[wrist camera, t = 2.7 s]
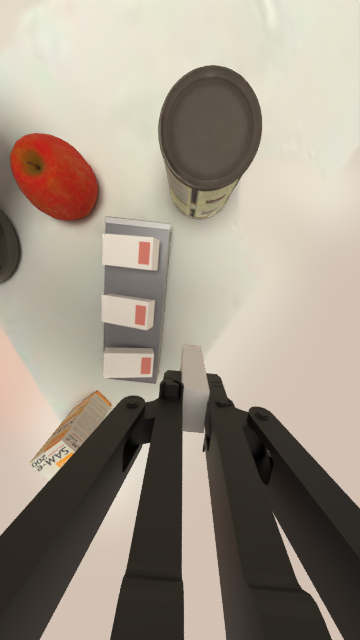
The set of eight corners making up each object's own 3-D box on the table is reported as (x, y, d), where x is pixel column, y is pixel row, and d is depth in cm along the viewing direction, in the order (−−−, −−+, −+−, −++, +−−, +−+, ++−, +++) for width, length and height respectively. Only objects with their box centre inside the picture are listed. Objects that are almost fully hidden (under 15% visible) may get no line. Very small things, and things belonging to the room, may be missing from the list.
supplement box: (96, 389, 44) (61, 438, 31) (112, 404, 45) (83, 458, 32) (70, 409, 45) (26, 465, 33) (86, 424, 46) (48, 483, 33)
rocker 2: (110, 318, 35) (100, 321, 33) (110, 293, 34) (101, 294, 32) (152, 326, 34) (146, 330, 31) (155, 300, 33) (148, 302, 30)
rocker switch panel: (110, 367, 42) (100, 380, 38) (113, 221, 36) (102, 214, 31) (159, 373, 43) (155, 386, 38) (172, 228, 36) (170, 222, 31)
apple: (40, 154, 33) (-24, 105, 23) (103, 157, 33) (67, 109, 23) (47, 223, 36) (-7, 205, 26) (105, 225, 36) (74, 209, 26)
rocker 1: (111, 265, 33) (101, 264, 31) (112, 236, 32) (101, 233, 30) (157, 270, 31) (150, 270, 29) (159, 240, 30) (153, 237, 28)
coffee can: (202, 133, 32) (215, 33, 18) (243, 186, 34) (284, 132, 20) (155, 184, 34) (136, 128, 20) (197, 232, 36) (205, 211, 22)
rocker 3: (105, 370, 36) (103, 378, 33) (105, 347, 35) (103, 353, 32) (150, 370, 38) (152, 377, 35) (152, 348, 37) (154, 354, 34)
